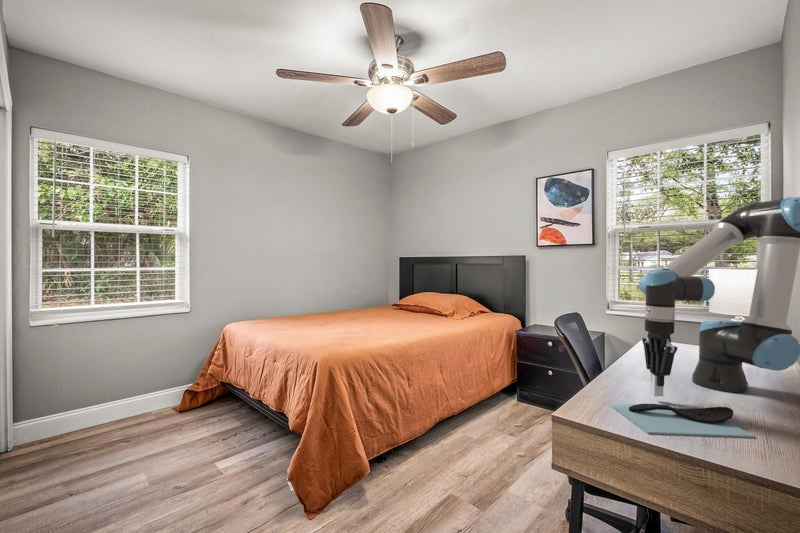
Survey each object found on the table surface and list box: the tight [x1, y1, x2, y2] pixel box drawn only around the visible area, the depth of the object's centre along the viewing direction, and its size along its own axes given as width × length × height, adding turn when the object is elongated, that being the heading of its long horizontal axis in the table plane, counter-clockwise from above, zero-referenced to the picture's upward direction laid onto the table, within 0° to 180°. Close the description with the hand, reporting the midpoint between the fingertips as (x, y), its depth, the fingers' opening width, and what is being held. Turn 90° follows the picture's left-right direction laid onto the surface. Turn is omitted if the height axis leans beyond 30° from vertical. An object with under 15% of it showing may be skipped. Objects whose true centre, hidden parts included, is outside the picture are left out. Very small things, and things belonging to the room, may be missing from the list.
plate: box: [606, 402, 756, 439], centre depth 103 cm, size 26×20×1 cm
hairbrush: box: [629, 403, 734, 424], centre depth 104 cm, size 8×4×25 cm
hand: (657, 395), depth 116 cm, fingers closed
